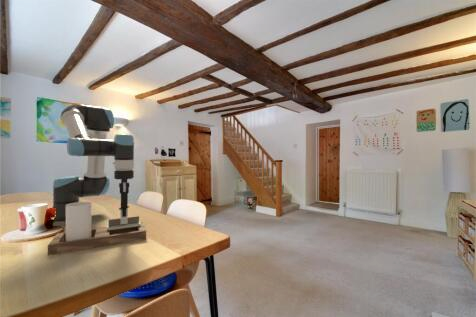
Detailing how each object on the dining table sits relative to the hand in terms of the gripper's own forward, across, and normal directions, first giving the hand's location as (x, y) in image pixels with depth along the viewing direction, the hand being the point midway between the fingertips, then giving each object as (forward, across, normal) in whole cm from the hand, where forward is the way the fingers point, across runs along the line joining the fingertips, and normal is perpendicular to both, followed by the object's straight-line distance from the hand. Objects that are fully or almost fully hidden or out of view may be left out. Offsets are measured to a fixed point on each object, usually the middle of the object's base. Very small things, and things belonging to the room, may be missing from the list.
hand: (124, 223), depth 96 cm
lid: (+2, -5, 0) cm, 6 cm away
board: (+5, -5, -8) cm, 11 cm away
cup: (+6, +2, -16) cm, 17 cm away
